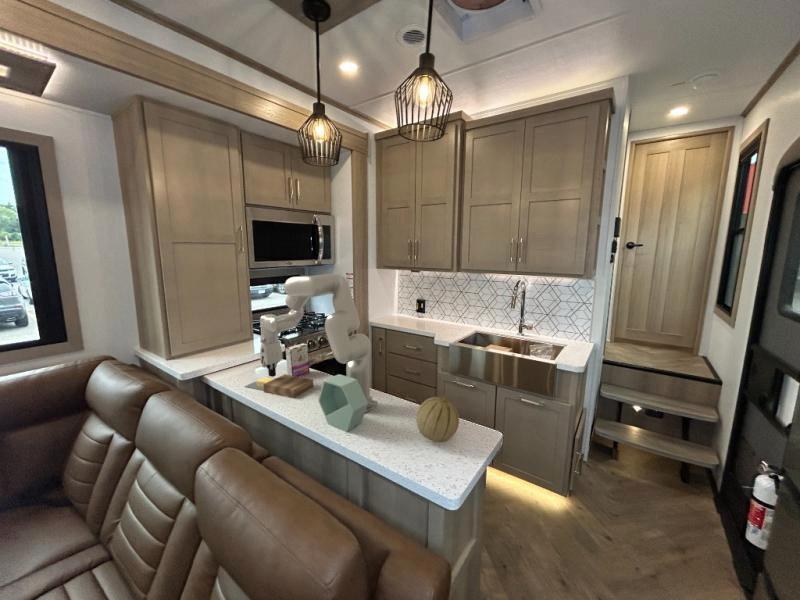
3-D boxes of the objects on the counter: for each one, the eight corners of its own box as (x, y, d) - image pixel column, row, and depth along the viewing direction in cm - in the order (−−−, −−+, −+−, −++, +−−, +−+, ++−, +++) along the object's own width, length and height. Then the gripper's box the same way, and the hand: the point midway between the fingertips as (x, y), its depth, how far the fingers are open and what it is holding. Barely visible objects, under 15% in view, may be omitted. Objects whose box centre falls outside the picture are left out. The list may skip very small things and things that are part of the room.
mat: (286, 380, 169) (286, 380, 169) (265, 391, 156) (265, 390, 156) (266, 377, 175) (266, 376, 175) (244, 386, 162) (244, 386, 162)
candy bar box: (304, 371, 183) (302, 342, 181) (310, 373, 180) (308, 344, 178) (286, 377, 174) (285, 347, 172) (292, 379, 171) (290, 349, 169)
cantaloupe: (407, 438, 115) (407, 398, 113) (434, 423, 125) (434, 385, 123) (441, 456, 104) (441, 412, 102) (467, 438, 114) (467, 397, 112)
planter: (333, 437, 124) (312, 387, 128) (348, 428, 130) (327, 381, 134) (360, 426, 114) (335, 372, 119) (374, 417, 120) (351, 366, 125)
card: (279, 384, 164) (278, 379, 164) (270, 388, 159) (269, 383, 158) (265, 381, 168) (265, 376, 168) (256, 385, 162) (256, 380, 162)
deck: (313, 386, 161) (313, 379, 160) (293, 398, 148) (293, 390, 148) (285, 381, 168) (284, 374, 167) (264, 392, 155) (263, 384, 155)
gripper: (263, 344, 151) (266, 382, 153) (286, 337, 164) (289, 372, 167) (251, 343, 154) (254, 380, 156) (275, 335, 167) (277, 370, 170)
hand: (272, 375), depth 162 cm, fingers closed
